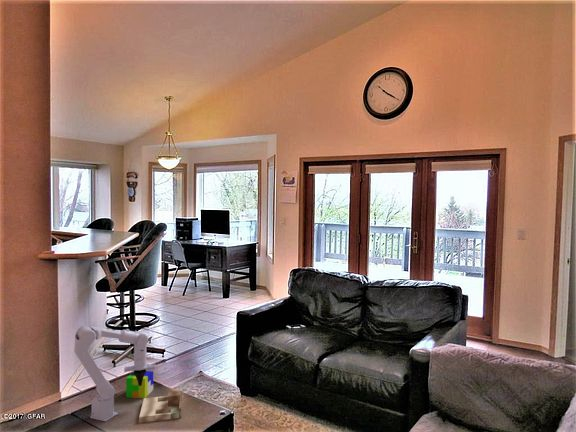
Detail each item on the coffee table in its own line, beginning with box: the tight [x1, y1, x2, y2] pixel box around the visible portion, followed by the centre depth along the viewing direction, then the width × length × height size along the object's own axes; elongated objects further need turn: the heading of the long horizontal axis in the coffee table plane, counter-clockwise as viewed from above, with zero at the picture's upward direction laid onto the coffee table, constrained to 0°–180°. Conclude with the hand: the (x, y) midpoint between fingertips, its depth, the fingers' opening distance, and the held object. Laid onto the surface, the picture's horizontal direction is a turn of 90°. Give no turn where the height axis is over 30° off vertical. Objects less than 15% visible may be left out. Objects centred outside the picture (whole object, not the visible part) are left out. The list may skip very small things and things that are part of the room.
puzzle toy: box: [125, 370, 154, 399], centre depth 212 cm, size 10×10×10 cm
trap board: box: [138, 390, 183, 423], centre depth 194 cm, size 18×19×4 cm
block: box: [167, 390, 180, 407], centre depth 195 cm, size 5×5×5 cm
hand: (140, 384), depth 198 cm, fingers closed
